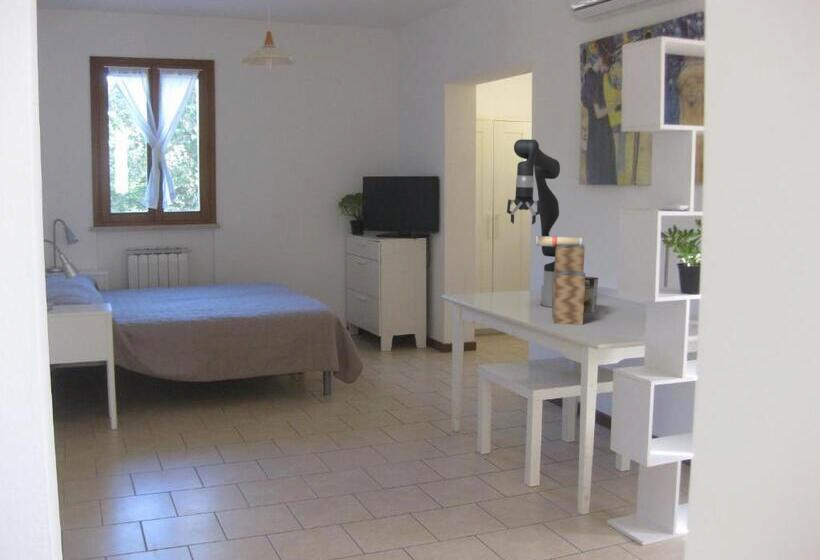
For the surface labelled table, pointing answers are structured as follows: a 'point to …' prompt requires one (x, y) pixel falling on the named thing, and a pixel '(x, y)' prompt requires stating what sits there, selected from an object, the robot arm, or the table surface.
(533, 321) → the table surface
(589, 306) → the coffee box
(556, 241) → the cream long cylinder
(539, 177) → the robot arm
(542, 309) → the table surface
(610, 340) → the table surface
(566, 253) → the stand
